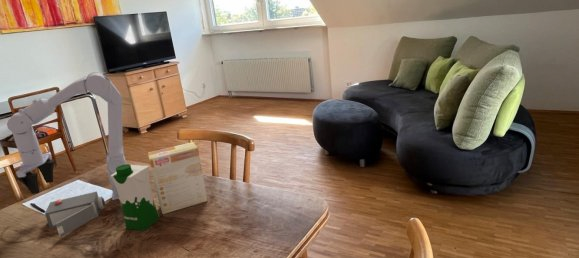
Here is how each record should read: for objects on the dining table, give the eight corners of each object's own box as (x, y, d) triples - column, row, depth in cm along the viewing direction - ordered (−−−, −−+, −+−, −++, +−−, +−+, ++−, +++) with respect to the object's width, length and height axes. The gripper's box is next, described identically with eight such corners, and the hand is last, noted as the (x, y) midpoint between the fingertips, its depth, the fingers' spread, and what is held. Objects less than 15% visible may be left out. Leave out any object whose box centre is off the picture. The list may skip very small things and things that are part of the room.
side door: (97, 215, 120) (93, 202, 118) (99, 216, 119) (95, 202, 117) (58, 237, 109) (53, 223, 107) (61, 238, 108) (56, 224, 107)
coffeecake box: (203, 192, 129) (193, 141, 123) (208, 201, 123) (198, 147, 117) (159, 205, 123) (146, 151, 117) (162, 215, 117) (149, 158, 111)
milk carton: (121, 230, 111) (104, 169, 104) (141, 214, 119) (127, 157, 112) (145, 233, 108) (129, 171, 101) (164, 216, 116) (150, 158, 109)
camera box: (106, 204, 128) (102, 187, 126) (105, 214, 120) (100, 197, 118) (55, 216, 122) (49, 200, 120) (50, 229, 115) (44, 211, 113)
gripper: (31, 142, 124) (44, 178, 129) (0, 159, 111) (16, 199, 115) (52, 140, 124) (64, 176, 129) (24, 157, 111) (38, 197, 115)
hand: (42, 187), depth 122 cm, fingers open, 7 cm apart
